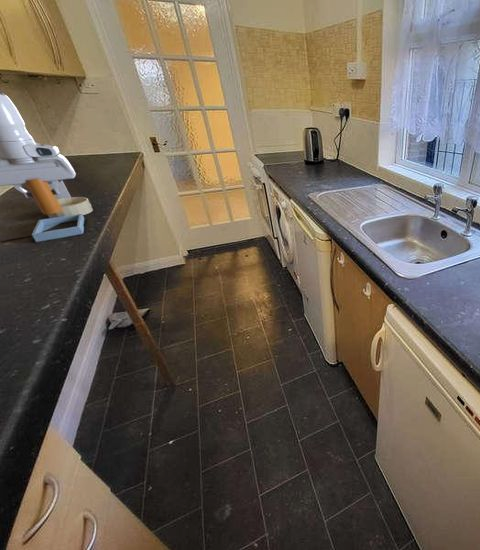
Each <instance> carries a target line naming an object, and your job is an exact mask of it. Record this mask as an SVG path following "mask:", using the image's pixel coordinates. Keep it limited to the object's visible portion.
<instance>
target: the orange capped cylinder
mask: <svg viewBox="0 0 480 550" xmlns="http://www.w3.org/2000/svg"><path fill="white" fill-rule="evenodd" d="M25 181H26V183H24V185H25V186H26V188H27V189H28V190H27V191H30V193H31V195H32V196H33V200H34V202H35V204H36V205H37V206H38V208H39V210H40V212H41V214H42V215H46V214H53V213H58V212H61V211H62V208H61V206H60V204H59V202H58V201H57V199H56V197H55V195H53V192H52V191H51V188H50V186H49V184H48V182H47V181H42V180H41V179H31V180H25Z"/></svg>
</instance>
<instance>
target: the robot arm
mask: <svg viewBox="0 0 480 550" xmlns="http://www.w3.org/2000/svg"><path fill="white" fill-rule="evenodd" d="M76 176H77V173H76V171H75V169H74V167H73V165H72V164H71V162H70V161H69V160H68V159H67V157H66V156H64V155H63V154H60V149H59V147H58V146H56V145H51V144H46V143H45V144H44V143H39V142H36V141H35V139H34V138H33V136H32V135H31V134H30V133H29V131H28V130H27V128H26V123H25V120H24V119H23V117H22V115H21V113H20V112H19V110H18V109H17V107H16V106H15V104H14V103H13V101H12V100H11V98H9V96H8V95H7V94H5V93H4V92H2V91H0V187H3V186H4V187H5V186H13V188H14V189H15V190H17V191H18V192H20V193H21V194H23V196H24V197H25V198H26V199H32V198H33V196H32V195H31V193H30V191H29V190H26V189H24V188H23V184H24V185H25V183H26V181H25V180H31V179H41V180H42V181H51V182H52V184H55V187H54V188H53V189H51V191H52V192H53V195H59V194H60V192H59V190H58V189H57V188H58V184H59V181H58V180H62V181H63V180H71V179H75V178H76ZM33 199H34V198H33Z"/></svg>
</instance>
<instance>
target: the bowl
mask: <svg viewBox="0 0 480 550" xmlns="http://www.w3.org/2000/svg"><path fill="white" fill-rule="evenodd" d="M57 201H58V202H59V204H60V206H61V208H62V211H61V212H58V213H53V214H45V215H46V216H47V219H48V218H55V217H62V216H69V215H75V214H82V215H83V216H86V215H87V214H90V213H92V212H93V211H94V208H93V206H92V204H91V202H90V200H89V198H88V197H84V196H71V197H70V198H62V199H57Z"/></svg>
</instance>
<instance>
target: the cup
mask: <svg viewBox="0 0 480 550" xmlns="http://www.w3.org/2000/svg"><path fill="white" fill-rule="evenodd" d="M58 181H59V184H58V188H57V189H58V190H59V192H60V194H59V195H55V197H56V199H62V198H70V197H72V196H71V194H70V192H69V190H68V189H67V186H66V185H65V183H64V181H63V180H58ZM47 182H48V184H49V186H50V188H51V189H53V188H54V187H55V184H52V182H51V181H47Z"/></svg>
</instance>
